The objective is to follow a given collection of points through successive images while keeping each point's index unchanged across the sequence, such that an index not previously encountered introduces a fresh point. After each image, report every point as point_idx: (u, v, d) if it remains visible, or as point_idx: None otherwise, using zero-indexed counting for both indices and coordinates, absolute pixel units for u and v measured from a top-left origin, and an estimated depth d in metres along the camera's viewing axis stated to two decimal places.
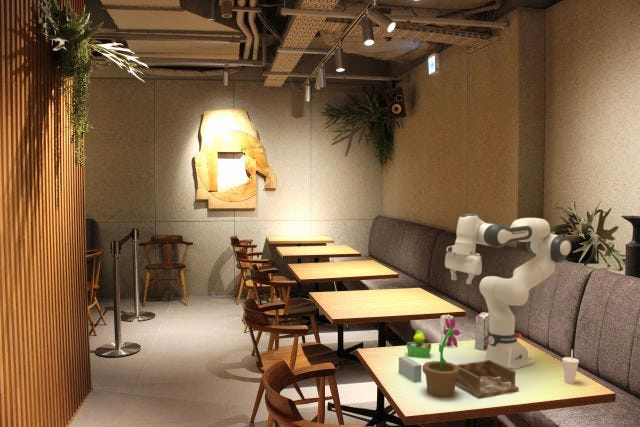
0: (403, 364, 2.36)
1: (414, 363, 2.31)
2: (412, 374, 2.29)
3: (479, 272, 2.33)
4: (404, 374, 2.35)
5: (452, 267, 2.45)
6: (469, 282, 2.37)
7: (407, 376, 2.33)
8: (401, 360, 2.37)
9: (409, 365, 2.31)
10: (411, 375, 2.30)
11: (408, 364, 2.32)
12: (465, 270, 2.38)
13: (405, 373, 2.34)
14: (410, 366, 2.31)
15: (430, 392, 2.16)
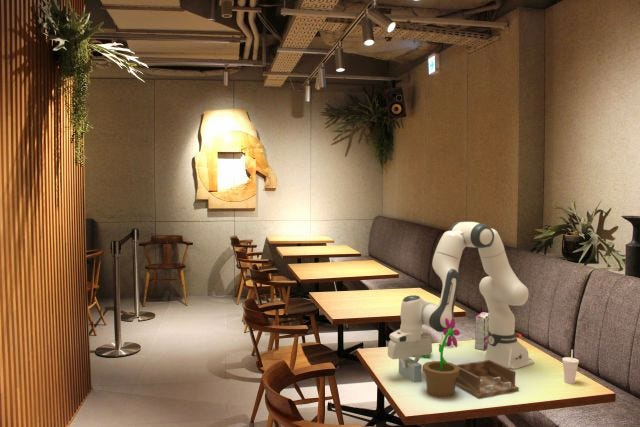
0: None
1: (414, 363, 2.31)
2: (412, 374, 2.29)
3: None
4: (404, 374, 2.35)
5: (403, 356, 2.31)
6: None
7: (407, 376, 2.33)
8: None
9: (409, 365, 2.31)
10: (411, 375, 2.30)
11: (408, 364, 2.32)
12: (419, 353, 2.34)
13: (405, 373, 2.34)
14: (410, 366, 2.31)
15: (430, 392, 2.16)
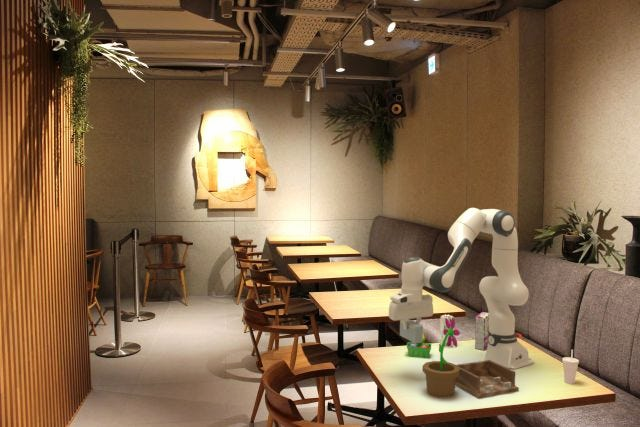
0: None
1: (415, 324, 2.30)
2: (413, 335, 2.28)
3: None
4: (405, 336, 2.34)
5: (404, 317, 2.30)
6: None
7: (408, 337, 2.32)
8: None
9: (410, 326, 2.30)
10: (412, 336, 2.29)
11: (409, 325, 2.31)
12: (421, 315, 2.33)
13: (407, 335, 2.33)
14: (411, 327, 2.30)
15: (430, 392, 2.16)
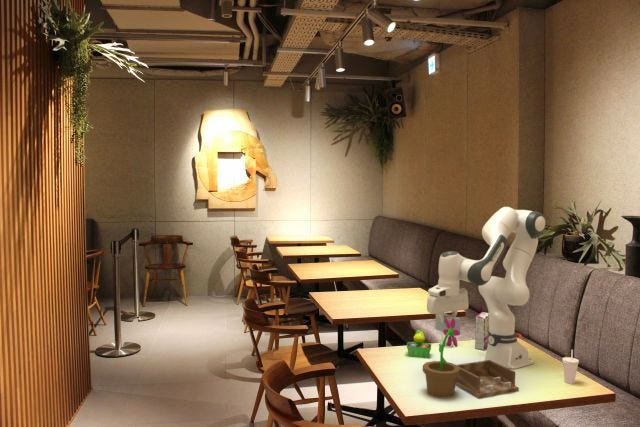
0: None
1: (453, 317, 2.34)
2: None
3: None
4: (442, 329, 2.37)
5: (442, 311, 2.33)
6: None
7: None
8: (438, 315, 2.39)
9: (448, 319, 2.34)
10: None
11: (447, 318, 2.34)
12: (457, 308, 2.36)
13: (443, 328, 2.36)
14: (449, 320, 2.33)
15: (430, 392, 2.16)
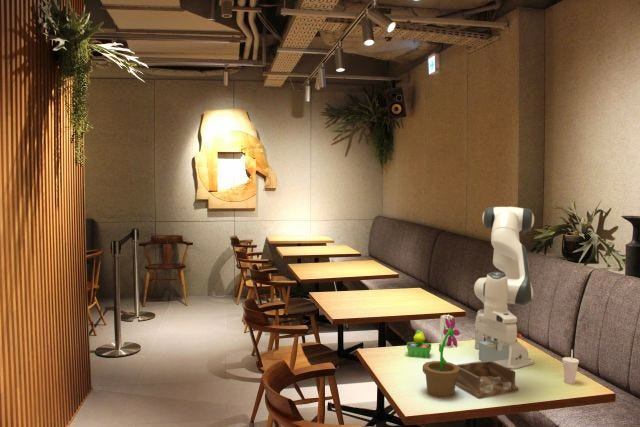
0: (492, 348, 2.16)
1: None
2: (506, 351, 2.19)
3: None
4: (494, 358, 2.16)
5: None
6: None
7: (499, 358, 2.17)
8: (489, 346, 2.15)
9: None
10: (505, 353, 2.19)
11: None
12: None
13: (496, 357, 2.17)
14: (503, 345, 2.18)
15: (430, 392, 2.16)
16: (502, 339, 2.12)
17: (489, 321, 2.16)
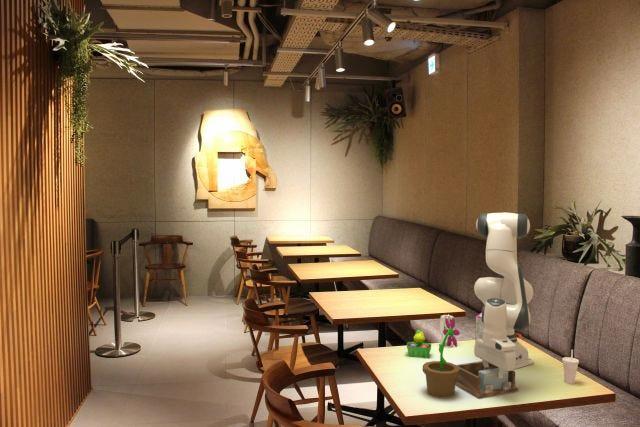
0: (491, 377, 2.17)
1: None
2: (505, 380, 2.20)
3: None
4: (493, 387, 2.18)
5: None
6: None
7: (498, 386, 2.18)
8: (488, 375, 2.16)
9: None
10: (504, 382, 2.20)
11: None
12: None
13: (495, 385, 2.18)
14: None
15: (430, 392, 2.16)
16: (501, 366, 2.12)
17: (488, 348, 2.17)
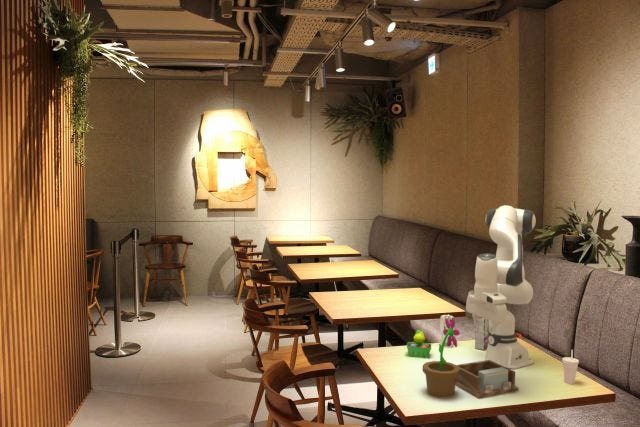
0: (491, 377, 2.17)
1: (500, 369, 2.21)
2: (505, 380, 2.20)
3: None
4: (493, 387, 2.18)
5: None
6: None
7: (498, 386, 2.18)
8: (488, 375, 2.16)
9: (501, 373, 2.19)
10: (504, 382, 2.20)
11: (499, 373, 2.18)
12: None
13: (495, 385, 2.18)
14: (502, 373, 2.19)
15: (430, 392, 2.16)
16: (492, 319, 2.16)
17: (479, 302, 2.20)
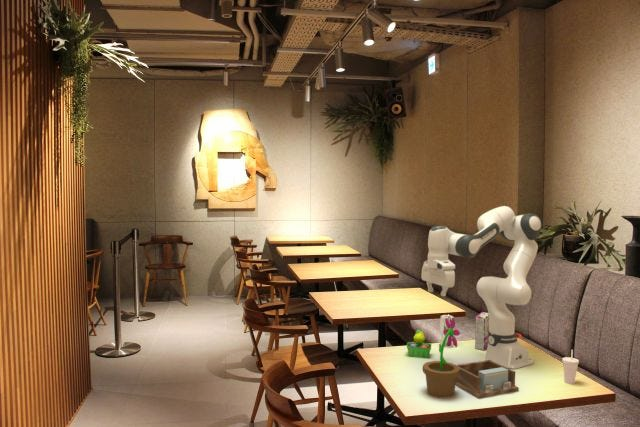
0: (491, 377, 2.17)
1: (500, 369, 2.21)
2: (505, 380, 2.20)
3: None
4: (493, 387, 2.18)
5: None
6: None
7: (498, 386, 2.18)
8: (488, 375, 2.16)
9: (501, 373, 2.19)
10: (504, 382, 2.20)
11: (499, 373, 2.18)
12: None
13: (495, 385, 2.18)
14: (502, 373, 2.19)
15: (430, 392, 2.16)
16: (442, 284, 2.38)
17: (432, 269, 2.42)
